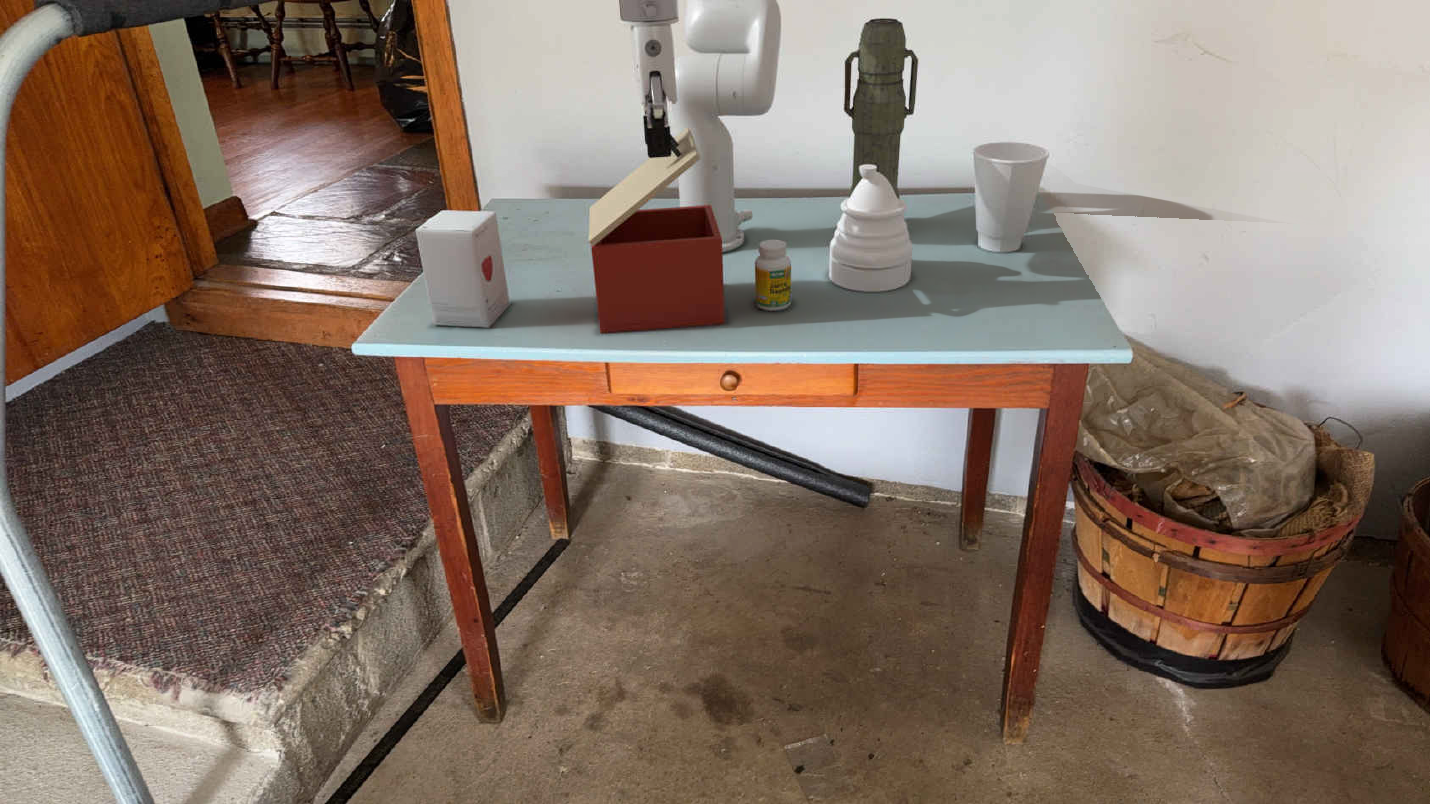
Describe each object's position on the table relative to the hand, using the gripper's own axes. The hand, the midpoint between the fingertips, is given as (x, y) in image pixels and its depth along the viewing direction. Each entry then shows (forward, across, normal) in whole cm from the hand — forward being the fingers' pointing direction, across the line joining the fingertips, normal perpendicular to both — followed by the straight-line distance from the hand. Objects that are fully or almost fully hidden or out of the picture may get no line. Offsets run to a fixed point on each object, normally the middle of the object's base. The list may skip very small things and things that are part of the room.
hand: (658, 149), depth 128 cm
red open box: (+24, 0, +1) cm, 24 cm away
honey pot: (+24, +6, -33) cm, 41 cm away
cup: (+24, +15, -58) cm, 64 cm away
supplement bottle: (+24, -2, -16) cm, 29 cm away
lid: (+5, 0, +2) cm, 6 cm away
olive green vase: (+24, +28, -39) cm, 54 cm away
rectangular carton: (+24, +3, +29) cm, 38 cm away
